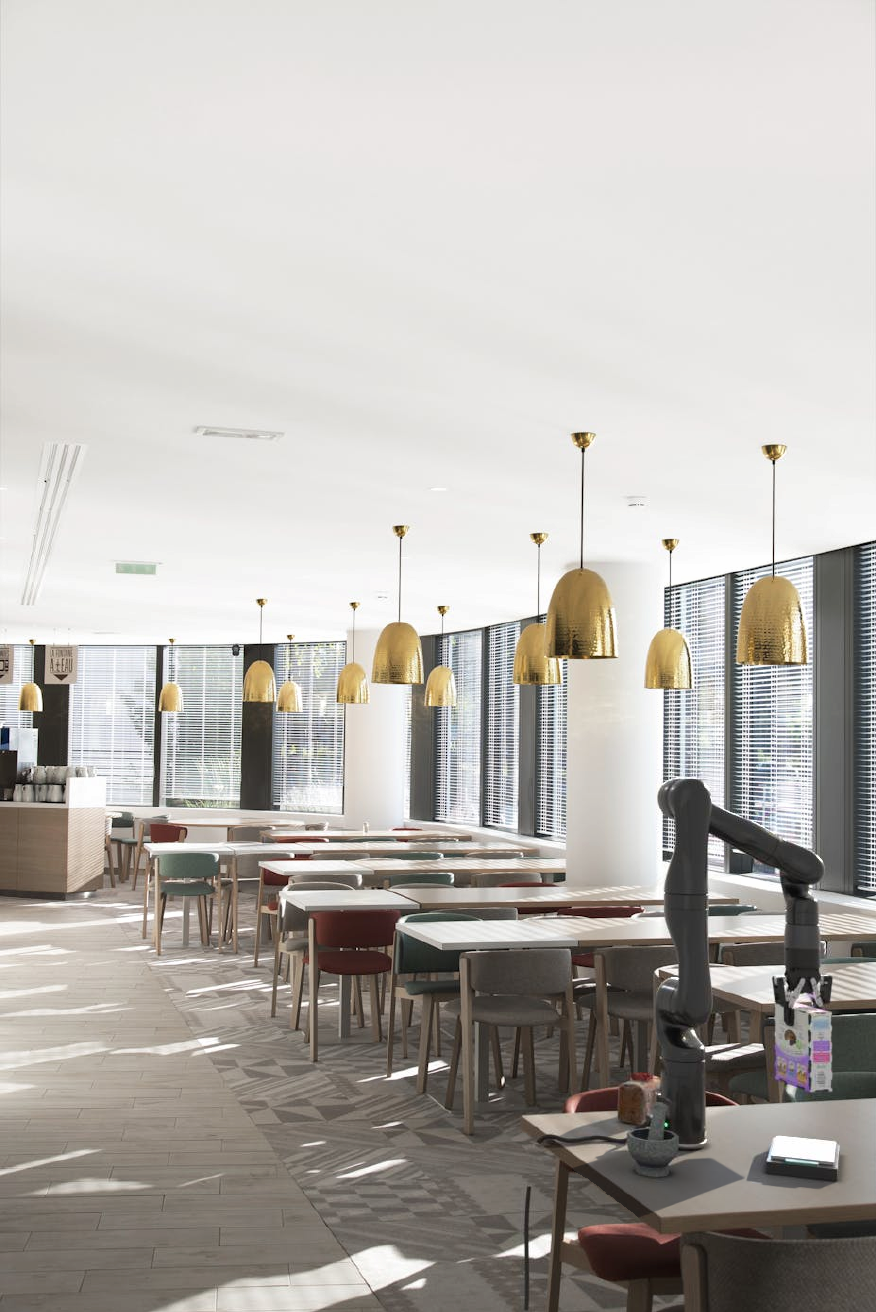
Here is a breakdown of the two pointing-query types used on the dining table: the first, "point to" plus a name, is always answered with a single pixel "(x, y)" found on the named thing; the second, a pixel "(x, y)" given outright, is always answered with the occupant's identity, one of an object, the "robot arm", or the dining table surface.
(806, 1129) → the dining table surface
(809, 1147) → the scale
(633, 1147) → the mortar and pestle
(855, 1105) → the dining table surface
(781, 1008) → the candy box
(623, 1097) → the food item
